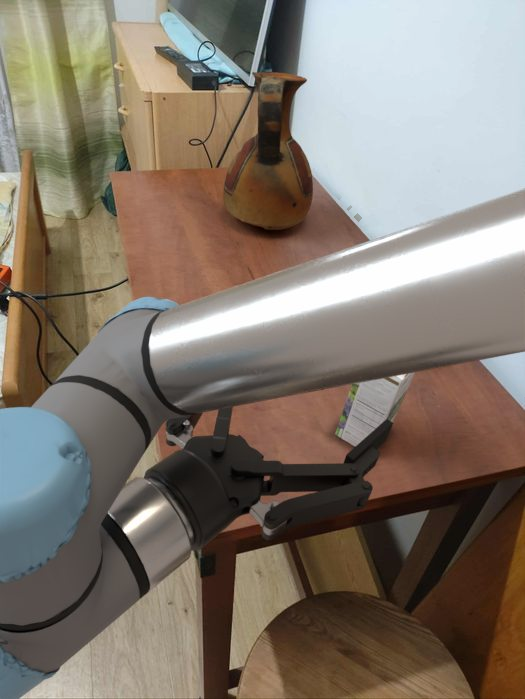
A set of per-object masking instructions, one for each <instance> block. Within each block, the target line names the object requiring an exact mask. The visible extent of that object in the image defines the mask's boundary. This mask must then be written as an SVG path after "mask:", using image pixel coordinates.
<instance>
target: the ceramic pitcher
mask: <svg viewBox="0 0 525 699" xmlns="http://www.w3.org/2000/svg"><path fill="white" fill-rule="evenodd" d="M251 74H252V76H253V78H254V79H255V81H256V84H257V85H258V86H259V89H258V93H257V133H256V134H255V135H254V136H252V137H250V138H248V140H246V141H245V142H244V143H243V144H242V145H241V146H240V148H238V150H237V151H236V153H235V154H234V156H233V158H232V160H231V162H230V164H229V166H228V169H227V172H226V174H225V179H224V183H223V194H222V198H223V205H224V207H225V210H226V211H227V212H228V213H229V214H230V215H231V216H232V217H234V218H236V219H237V220H239V221H241V222H242V223H246V224H249V225H251V226H255V227H260V228H262V229H264V230H270V231H274V230H275V231H279V230H285V229H289V228H291V227H293V226H296V225H299V224H300V223H301V222H303V221H304V220H305V219H306V218H307V216H308V215H309V212H310V209H311V206H312V202H313V196H314V183H313V173H312V169H311V165H310V162H309V160H308V157H307V155H306V154H305V152H304V150H303V148H302V146H301V145H300V144H299V142H297V141H296V139H294V137H293V136H292V132H291V128H290V127H291V126H290V117H291V116H290V115H291V108H292V103H293V100H294V96H295V95H296V93H297V91H298V90H299V89H300V88H301V86H303V85H304V84H306V83H307V82H308V79H307V78H306V77H303V76H301V75H295V74H290V73H285V72H256V71H253V72H251Z"/></svg>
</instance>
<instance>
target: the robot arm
mask: <svg viewBox="0 0 525 699" xmlns="http://www.w3.org/2000/svg"><path fill="white" fill-rule="evenodd" d="M524 352H525V188H521V189H518V190H516V191H515V190H514V191H513V192H509V193H507V194H504V195H501V196H497V197H495V198H491V199H489V200H486V201H483V202H480V203H476V204H473V205H471V206H468V207H465V208H461V209H459V210H456V211H454V212H449V213H447V214H444V215H441V216H438V217H436V218H433V219H430V220H427V221H424V222H420V223H418V224H415V225H412V226H409V227H406V228H404V229H400V230H397V231H394V232H391V233H389V234H385V235H381V236H379V237H376V238H374V239H370V240H368V241H365V242H361V243H359V244H356V245H353V246H349V247H347V248H343V249H341V250H338V251H335V252H331V253H330V254H326V255H323V256H320V257H318V258H315V259H312V260H309V261H305V262H302V263H300V264H297V265H294V266H291V267H287V268H285V269H282V270H279V271H276V272H272V273H271V274H267V275H264V276H261V277H258V278H256V279H252V280H249V281H246V282H244V283H241V284H238V285H235V286H234V285H233V286H231V287H228V288H225V289H223V290H219V291H218V292H213V293H211V294H208V295H205V296H202V297H199V298H196V299H193V300H190V301H187V302H184V303H182V304H179V303H177V302H175V301H174V300H171V299H169V298H158V297H154V296H143V297H139V298H137V299H134V300H132V301H130V302H129V303H127V305H125V306H124V307H123V308H121V309H120V311H118V313H116V314H115V315H113V316H111V317H110V318H108V319H107V320H106V321H105V323H104V324H103V326H102V327H100V328H99V330H98V332H97V334H96V335H95V336H94V337H93V338H92V339H91V340H90V342H89V343H88V344H87V345H86V346H85V347H84V348H83V349H82V350H81V352H80V353H78V355H77V356H76V358H74V359H73V361H72V362H70V364H69V365H68V366H67V367H66V368H65V369H64V371H63V372H62V373H61V374H60V375H59V377H57V379H56V380H55V381H54V382H53V383H52V384H51V385H50V386H49V387H48V388H47V389H46V390H45V391H44V392H43V393H42V394H41V395H40V397H38V399H37V400H36V401H35V402H34V403H33V404H32V405H31V406H15V407H5V408H0V699H21V698H22V697H24V696H25V695H27V694H28V693H29V692H30V691H32V690H33V689H34V688H36V687H37V686H38V685H40V684H41V683H42V682H44V681H45V680H48V679H51V678H53V676H55V675H56V674H57V673H58V672H59V670H60V669H61V667H62V666H63V665H65V663H67V662H68V661H69V660H70V659H71V658H74V656H75V655H76V654H77V653H79V652H80V651H81V650H82V649H83V648H84V647H86V646H87V645H88V644H89V643H90V642H92V641H93V640H94V639H95V638H96V637H98V636H99V635H100V634H101V633H102V632H103V631H105V630H106V629H107V628H108V627H109V626H111V624H113V623H114V622H116V620H117V619H119V618H120V617H121V616H122V615H124V614H125V613H126V612H127V611H128V610H129V609H130V608H131V607H133V606H134V605H135V604H137V603H138V602H139V601H140V599H141V600H142V598H143V597H145V596H146V595H147V594H148V593H150V592H151V591H152V590H153V589H154V588H156V587H157V586H159V585H160V584H161V583H162V582H163V581H164V580H165V579H166V578H168V577H169V576H171V574H173V572H175V571H176V570H177V569H178V568H180V567H181V566H182V565H183V564H184V563H185V562H187V561H188V560H189V559H190V558H191V555H192V551H200V550H201V549H203V548H204V547H205V546H207V545H208V544H209V543H210V542H212V540H214V539H215V538H216V537H217V536H219V535H220V534H221V533H222V532H223V531H225V529H227V528H228V527H229V526H230V525H231V524H232V523H233V522H234V521H236V519H238V518H239V517H241V516H244V515H249V514H250V515H251V517H252V518H253V519H254V520H255V521H256V523H257V524H258V525H259V526H260V527H261V531H260V533H261V535H260V536H261V537H262V539H264V540H265V541H272V540H274V539H276V538H277V537H278V536H279V535H281V534H283V533H284V532H285V531H287V530H288V529H291V528H294V527H298V526H302V525H306V524H309V523H312V522H317V521H321V520H325V519H329V518H332V517H335V516H340V515H343V514H346V513H352V512H354V511H359V510H362V509H364V508H366V506H367V503H368V502H369V500H370V496H371V494H372V492H373V490H374V489H373V488H374V487H373V484H372V483H371V482H370V481H367V480H365V478H364V477H365V476H366V475H367V474H368V473H369V472H370V471H372V469H373V468H375V467H376V464H377V462H378V460H379V457H380V454H381V451H379V450H378V449H380V448H381V447H382V446H383V445H384V444H385V443H386V442H387V441H388V437H389V435H390V433H391V430H392V427H393V425H394V422H391V421H390V420H388V419H386V420H385V421H384V422H383V423H382V424H380V425H379V426H378V427H377V428H376V429H375V430H374V431H372V432H371V433H370V434H369V435H368V436H367V437H366V438H365V439H363V440H362V441H361V442H360V443H359V444H358V445H357V446H356V447H355V446H353V448H352V449H351V450H350V451H349V452H347V453H346V455H345V458H344V460H343V463H341V462H340V463H282V461H280V460H264V457H265V455H264V454H263V453H261V452H260V451H259V450H258V449H256V448H254V447H252V446H250V444H249V443H248V442H247V440H246V438H244V437H243V436H242V435H240V434H238V435H235V434H232V433H231V434H230V427H231V421H232V416H233V408H234V407H235V408H236V407H239V406H244V405H249V404H255V403H261V402H265V401H271V400H276V399H277V400H278V399H281V398H287V397H293V396H297V395H303V394H308V393H313V392H318V391H324V390H329V389H335V388H339V387H345V386H352V384H356V383H361V382H367V381H372V380H377V379H383V378H388V377H393V376H398V375H404V374H409V373H414V372H415V373H420V372H425V371H431V370H435V369H440V368H445V367H451V366H455V365H462V364H467V363H471V362H472V363H473V362H478V361H482V360H488V359H493V358H499V357H504V356H508V355H514V354H519V353H524ZM213 411H217V416H216V419H215V423H214V429H213V434H210V435H196V436H194V430H195V427H196V426H197V424H198V422H199V420H200V419H201V417H202V415H203V414H204V413H208V412H213ZM163 424H165V443H166V445H167V446H169V447H176V446H177V447H179V448H180V449H178V450H175V451H174V452H172V453H170V454H169V455H168V456H166V457H165V458H163V459H162V460H160V461H159V462H157V463H156V464H154V465H152V466H151V467H149V468H148V469H146V471H145V472H144V476H143V477H142V476H135V477H133V478H131V479H130V477H131V475H132V474H133V472H134V470H135V469H136V467H137V466H138V464H139V463H140V461H141V459H142V457H143V456H144V455H145V453H146V451H147V449H148V448H149V446H150V445H151V444H152V441H153V440H154V438H155V437H156V436H157V434H158V432H159V431H160V429H161V427H162V426H163ZM265 477H269V479H267V480H265ZM129 479H130V480H129ZM280 493H281V494H282V493H307V494H304V495H303V494H302V495H298V496H295V497H291V498H288V499H286V500H284V501H281V502H280V503H279V501H277V500H273V501H271V502H269V503H265V502H263V501H261V498H262V497H271V496H278V495H279V494H280Z"/></svg>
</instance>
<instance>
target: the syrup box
mask: <svg viewBox="0 0 525 699" xmlns="http://www.w3.org/2000/svg"><path fill="white" fill-rule="evenodd" d="M415 373H416V372H414V373H409V374H404V375H398V376H393V377H388V378H383V379H377V380H372V381H367V382H361V383H356V384H351V385H350V388H349V392H348V395H347V397H346V400H345V404H344V407H343V409H342V413H341V416H340V419H339V421H338V425H337V427H336V431H335V433H334V434H335V436H336V437H338V438H340V439H341V440H343V441H345V442H346V443H348V444H349V445H351V446H353V447H356V446H357V445H358V444H359V443H360V442H361V441H362V440H363V439H365V438H366V437H367V436H368V435H369V434H370V433H371V432H372V431H374V430H375V429H376V428H377V427H378V426H379V425H380V424H382V423H383V422H384V421H385V420H386V419H388V420H390V421H391V422H393V423H394V422H395V420H396V417H397V415H398V412H399V411H400V408H401V406H402V404H403V402H404V399H405V397H406V395H407V392H408V390H409V388H410V385H411V383H412V382H413V381H412V380H413V379H414V377H415Z"/></svg>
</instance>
